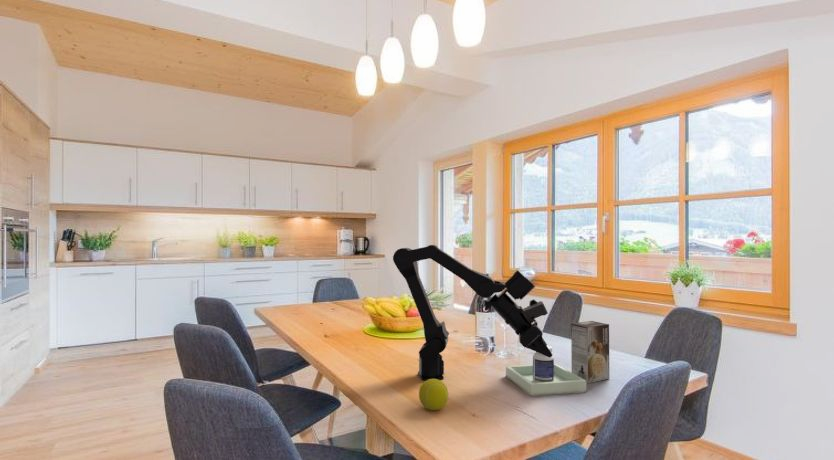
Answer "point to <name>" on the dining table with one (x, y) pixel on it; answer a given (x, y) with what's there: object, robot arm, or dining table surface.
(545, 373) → the pill bottle
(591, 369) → the coffee box
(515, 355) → the dining table surface
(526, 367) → the tray
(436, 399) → the tennis ball
